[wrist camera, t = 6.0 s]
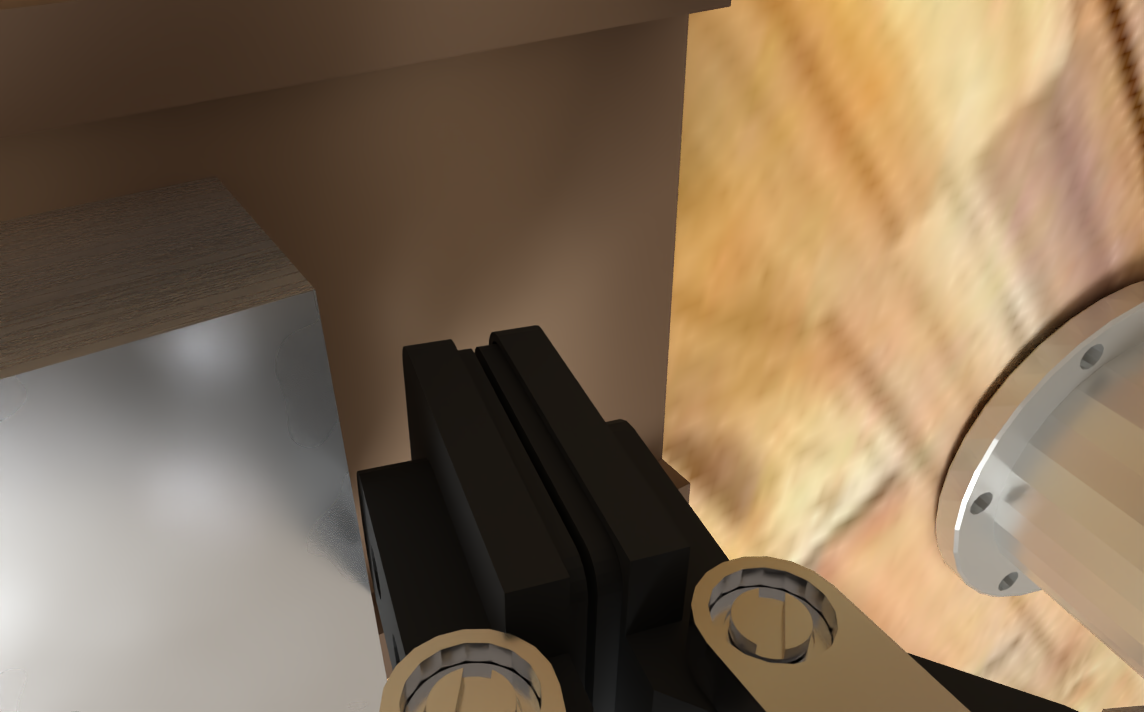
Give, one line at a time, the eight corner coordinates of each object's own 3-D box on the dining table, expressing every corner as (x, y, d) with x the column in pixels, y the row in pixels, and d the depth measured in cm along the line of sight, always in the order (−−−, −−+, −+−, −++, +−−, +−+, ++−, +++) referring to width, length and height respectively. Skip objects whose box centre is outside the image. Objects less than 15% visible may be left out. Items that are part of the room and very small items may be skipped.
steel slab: (215, 175, 10) (315, 290, 8) (307, 571, 13) (395, 727, 11) (-587, 345, 7) (-777, 599, 5) (-207, 793, 10) (-224, 1062, 8)
